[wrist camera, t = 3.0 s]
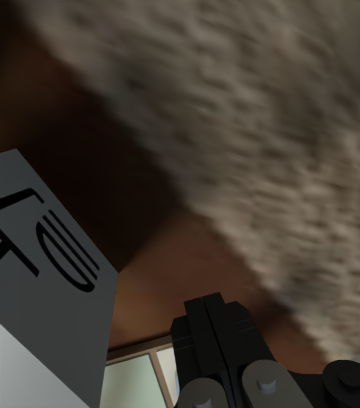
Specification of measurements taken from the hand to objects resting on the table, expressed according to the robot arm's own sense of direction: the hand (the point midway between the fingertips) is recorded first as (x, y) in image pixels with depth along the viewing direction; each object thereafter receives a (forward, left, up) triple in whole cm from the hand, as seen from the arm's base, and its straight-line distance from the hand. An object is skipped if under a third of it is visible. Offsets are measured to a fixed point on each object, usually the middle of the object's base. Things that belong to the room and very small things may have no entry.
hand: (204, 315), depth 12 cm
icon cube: (+11, -2, -9) cm, 14 cm away
